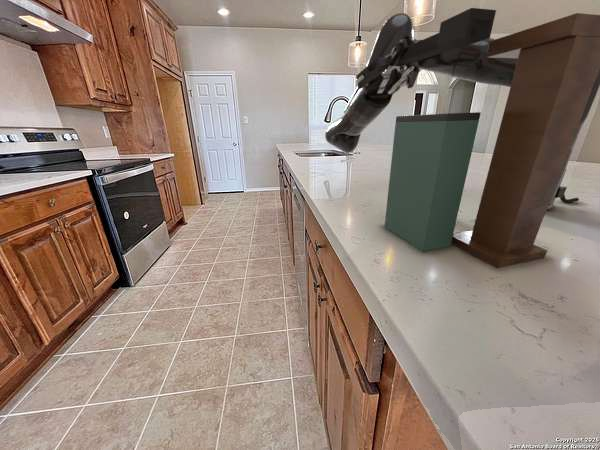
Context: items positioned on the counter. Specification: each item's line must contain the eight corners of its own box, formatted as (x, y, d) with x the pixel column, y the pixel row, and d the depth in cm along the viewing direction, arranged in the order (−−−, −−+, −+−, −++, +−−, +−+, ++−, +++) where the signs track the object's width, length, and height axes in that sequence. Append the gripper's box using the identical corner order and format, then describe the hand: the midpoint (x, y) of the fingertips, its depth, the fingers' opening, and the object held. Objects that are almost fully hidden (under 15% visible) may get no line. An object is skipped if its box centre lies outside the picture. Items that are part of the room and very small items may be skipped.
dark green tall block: (407, 223, 55) (423, 115, 47) (450, 246, 45) (481, 112, 36) (384, 226, 54) (396, 116, 45) (422, 251, 43) (447, 113, 35)
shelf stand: (482, 231, 50) (535, 43, 37) (544, 257, 40) (644, 14, 28) (442, 239, 48) (484, 40, 35) (497, 268, 38) (583, 8, 25)
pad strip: (403, 66, 48) (406, 48, 47) (490, 38, 32) (496, 9, 31) (386, 66, 48) (387, 47, 46) (465, 36, 32) (471, 7, 30)
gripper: (338, 90, 58) (374, 22, 41) (389, 90, 61) (443, 26, 45) (343, 119, 57) (383, 62, 41) (395, 117, 60) (452, 63, 44)
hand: (414, 44), depth 43 cm, fingers closed on pad strip, 3 cm apart
